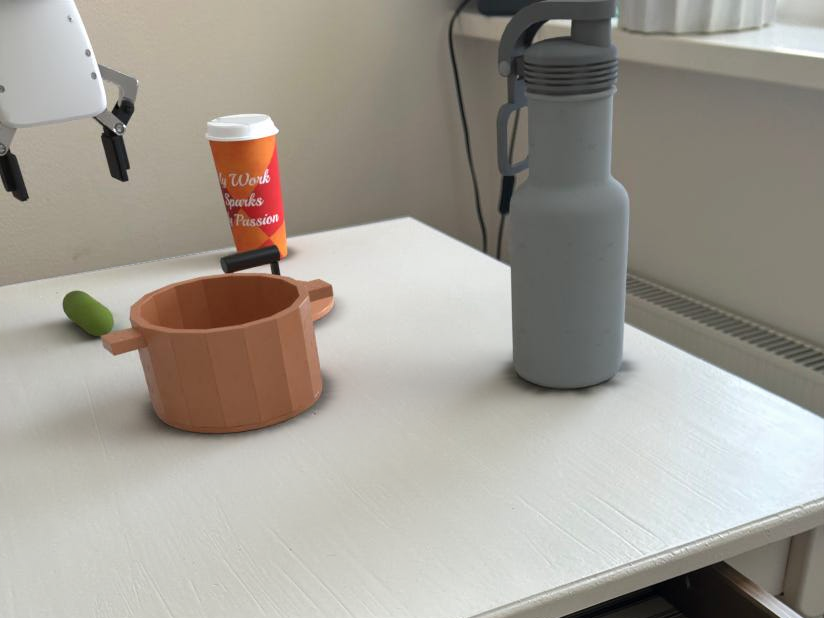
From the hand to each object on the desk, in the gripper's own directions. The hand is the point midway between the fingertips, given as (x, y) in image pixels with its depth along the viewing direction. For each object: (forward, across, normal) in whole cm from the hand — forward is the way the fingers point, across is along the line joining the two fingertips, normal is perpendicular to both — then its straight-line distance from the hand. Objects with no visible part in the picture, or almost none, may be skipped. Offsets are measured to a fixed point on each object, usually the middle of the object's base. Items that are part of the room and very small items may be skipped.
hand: (71, 188), depth 94 cm
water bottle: (+14, -27, +41) cm, 51 cm away
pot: (+14, -2, +26) cm, 29 cm away
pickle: (+14, +2, -1) cm, 14 cm away
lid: (+13, -13, +8) cm, 20 cm away
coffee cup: (+14, -23, -11) cm, 29 cm away
